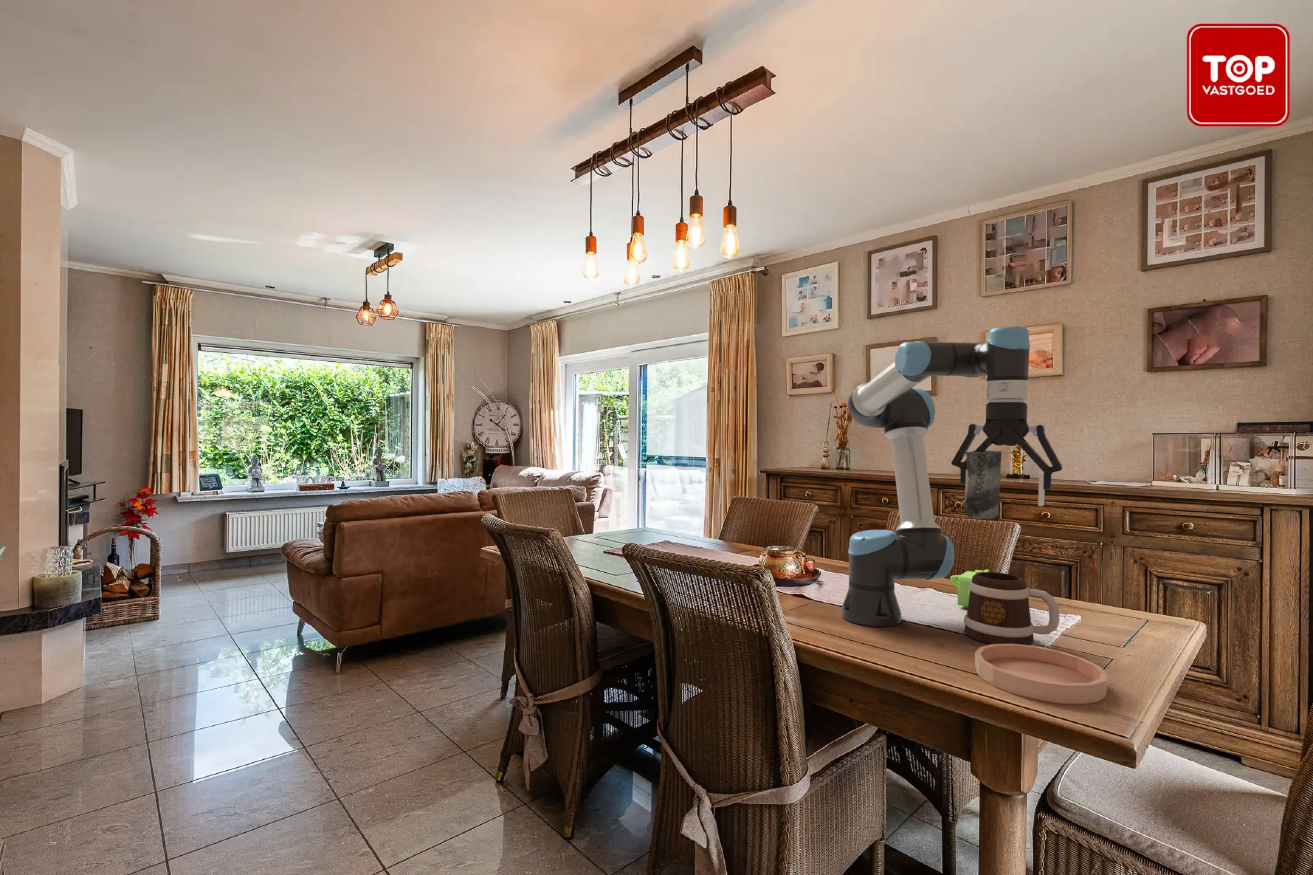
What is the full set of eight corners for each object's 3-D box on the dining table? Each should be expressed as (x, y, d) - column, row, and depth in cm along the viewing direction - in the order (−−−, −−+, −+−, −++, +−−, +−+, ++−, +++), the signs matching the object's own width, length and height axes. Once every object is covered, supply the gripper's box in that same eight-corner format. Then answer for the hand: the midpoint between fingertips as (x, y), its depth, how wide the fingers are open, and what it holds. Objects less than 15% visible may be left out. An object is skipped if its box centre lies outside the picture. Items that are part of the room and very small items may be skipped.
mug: (958, 640, 145) (959, 577, 145) (968, 624, 157) (968, 566, 157) (1058, 658, 133) (1058, 590, 133) (1060, 639, 146) (1060, 577, 146)
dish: (964, 682, 120) (964, 664, 120) (988, 652, 136) (988, 636, 136) (1102, 715, 105) (1102, 695, 105) (1110, 677, 122) (1110, 660, 122)
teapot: (970, 615, 165) (970, 576, 165) (940, 602, 178) (940, 566, 178) (1020, 613, 167) (1020, 575, 167) (987, 600, 181) (987, 565, 181)
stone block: (962, 518, 128) (990, 521, 125) (963, 450, 128) (991, 451, 124) (974, 514, 135) (1001, 516, 131) (975, 449, 134) (1001, 450, 131)
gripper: (938, 401, 132) (935, 498, 132) (1077, 400, 116) (1073, 510, 117) (947, 402, 138) (944, 495, 138) (1080, 401, 122) (1076, 506, 123)
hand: (1003, 502), depth 128 cm, fingers open, 13 cm apart
